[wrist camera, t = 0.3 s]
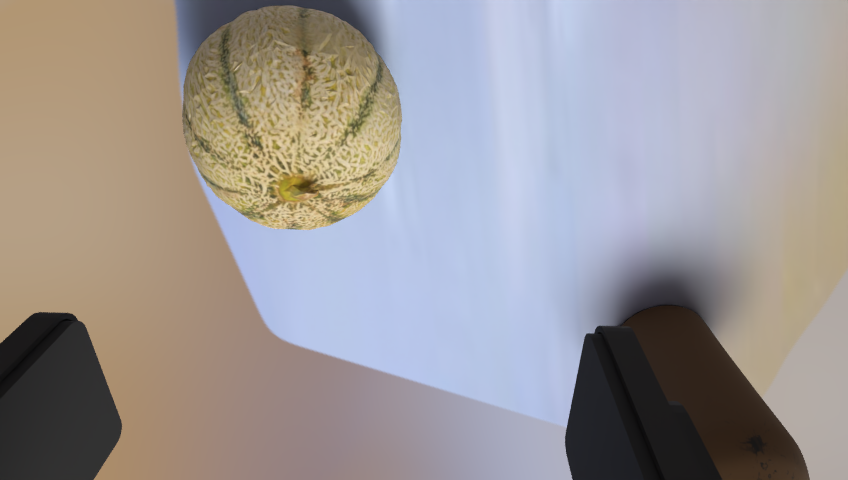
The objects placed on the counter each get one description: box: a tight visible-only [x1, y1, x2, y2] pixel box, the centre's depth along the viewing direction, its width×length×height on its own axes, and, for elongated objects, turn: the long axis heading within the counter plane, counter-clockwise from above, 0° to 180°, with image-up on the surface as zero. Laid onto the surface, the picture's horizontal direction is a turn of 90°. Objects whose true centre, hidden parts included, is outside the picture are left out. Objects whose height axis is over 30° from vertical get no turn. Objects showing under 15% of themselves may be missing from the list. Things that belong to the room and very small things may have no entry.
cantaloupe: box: [182, 5, 402, 230], centre depth 37 cm, size 15×15×15 cm
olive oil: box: [622, 305, 810, 480], centre depth 44 cm, size 11×11×25 cm
